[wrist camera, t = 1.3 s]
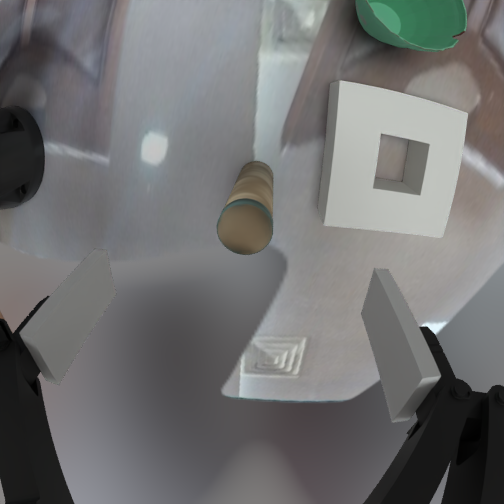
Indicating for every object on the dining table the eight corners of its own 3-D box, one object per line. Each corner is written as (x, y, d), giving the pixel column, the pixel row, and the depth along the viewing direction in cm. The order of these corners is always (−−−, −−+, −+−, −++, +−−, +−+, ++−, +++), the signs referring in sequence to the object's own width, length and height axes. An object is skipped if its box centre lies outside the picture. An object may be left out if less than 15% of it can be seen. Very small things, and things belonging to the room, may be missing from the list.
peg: (238, 192, 33) (216, 252, 21) (239, 159, 31) (216, 201, 19) (272, 194, 33) (270, 256, 21) (274, 161, 31) (274, 205, 19)
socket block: (317, 208, 33) (323, 225, 29) (329, 83, 27) (339, 80, 22) (424, 220, 33) (442, 237, 28) (444, 109, 26) (467, 113, 22)
